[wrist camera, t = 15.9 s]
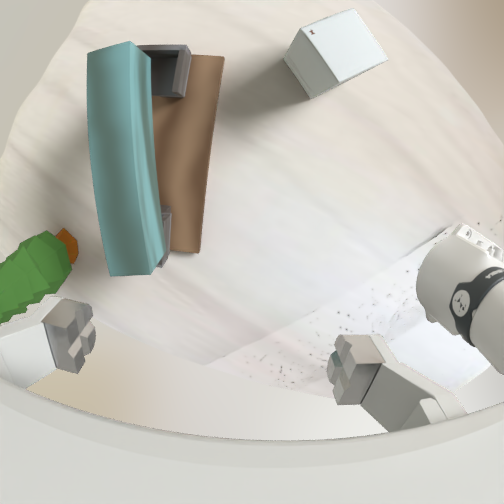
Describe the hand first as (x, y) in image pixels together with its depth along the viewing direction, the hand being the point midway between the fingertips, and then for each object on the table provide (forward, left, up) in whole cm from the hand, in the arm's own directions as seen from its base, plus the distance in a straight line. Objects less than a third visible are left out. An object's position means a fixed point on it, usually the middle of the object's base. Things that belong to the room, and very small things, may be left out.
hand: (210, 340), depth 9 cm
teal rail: (+10, -4, -21) cm, 24 cm away
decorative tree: (+28, +13, -34) cm, 46 cm away
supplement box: (-9, -19, -34) cm, 40 cm away
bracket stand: (+10, -4, -34) cm, 36 cm away
